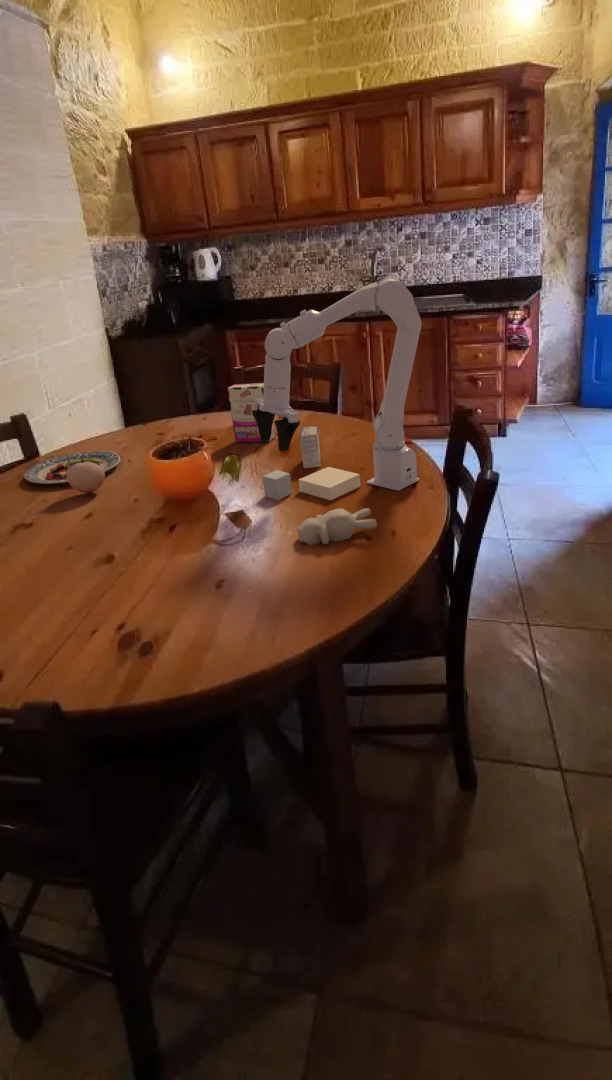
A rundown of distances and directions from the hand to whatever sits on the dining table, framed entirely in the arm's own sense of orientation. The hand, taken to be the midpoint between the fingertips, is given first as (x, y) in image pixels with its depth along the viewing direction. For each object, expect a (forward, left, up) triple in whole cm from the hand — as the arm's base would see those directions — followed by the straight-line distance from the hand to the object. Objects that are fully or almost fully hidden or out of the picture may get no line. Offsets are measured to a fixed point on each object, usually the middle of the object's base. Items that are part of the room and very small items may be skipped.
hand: (274, 445), depth 150 cm
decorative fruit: (+41, +28, -11) cm, 50 cm away
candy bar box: (+38, -24, -11) cm, 46 cm away
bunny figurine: (-28, +11, -12) cm, 32 cm away
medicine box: (+8, -18, -11) cm, 23 cm away
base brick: (-9, -7, -11) cm, 16 cm away
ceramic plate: (+62, +22, -12) cm, 66 cm away
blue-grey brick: (-1, +2, -11) cm, 11 cm away
